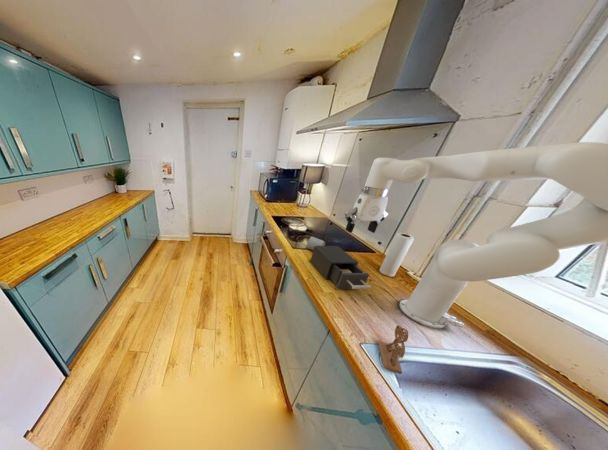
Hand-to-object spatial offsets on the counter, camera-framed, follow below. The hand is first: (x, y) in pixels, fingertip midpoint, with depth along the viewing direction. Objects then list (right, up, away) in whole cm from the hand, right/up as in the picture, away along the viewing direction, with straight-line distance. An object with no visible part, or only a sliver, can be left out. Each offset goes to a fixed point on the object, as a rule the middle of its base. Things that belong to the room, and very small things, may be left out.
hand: (359, 231), depth 83 cm
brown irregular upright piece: (-9, -38, -23) cm, 45 cm away
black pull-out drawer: (-2, -24, +7) cm, 25 cm away
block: (-2, -21, +4) cm, 22 cm away
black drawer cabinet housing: (-2, -20, +17) cm, 26 cm away
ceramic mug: (0, -12, +35) cm, 37 cm away
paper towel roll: (+26, -22, +16) cm, 37 cm away
